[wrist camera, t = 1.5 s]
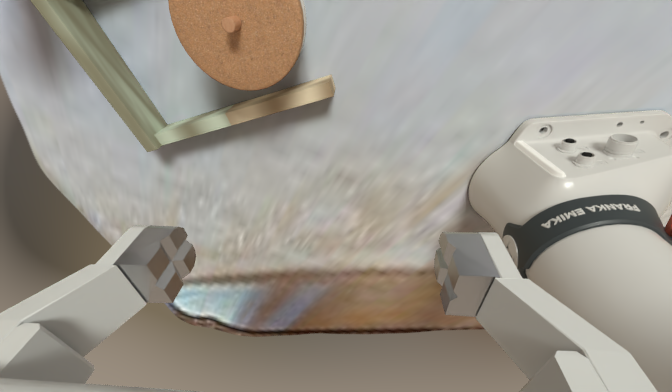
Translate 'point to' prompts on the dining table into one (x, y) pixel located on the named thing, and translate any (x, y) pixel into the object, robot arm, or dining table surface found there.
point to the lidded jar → (241, 38)
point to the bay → (131, 100)
